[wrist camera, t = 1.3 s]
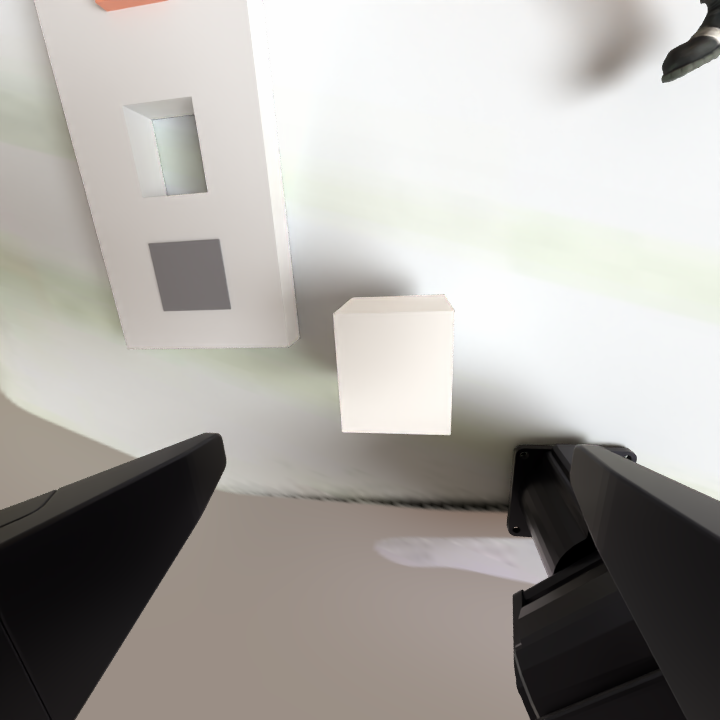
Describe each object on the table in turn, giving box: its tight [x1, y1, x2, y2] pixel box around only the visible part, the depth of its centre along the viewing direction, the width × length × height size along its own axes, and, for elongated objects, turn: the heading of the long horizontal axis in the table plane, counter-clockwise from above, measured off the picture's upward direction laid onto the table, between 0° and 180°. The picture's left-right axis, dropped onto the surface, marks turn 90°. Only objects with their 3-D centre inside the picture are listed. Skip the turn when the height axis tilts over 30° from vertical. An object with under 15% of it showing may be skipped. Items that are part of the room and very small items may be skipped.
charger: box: [333, 294, 454, 435], centre depth 17 cm, size 5×5×6 cm
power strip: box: [34, 0, 300, 349], centre depth 17 cm, size 20×10×3 cm, turn 3°
